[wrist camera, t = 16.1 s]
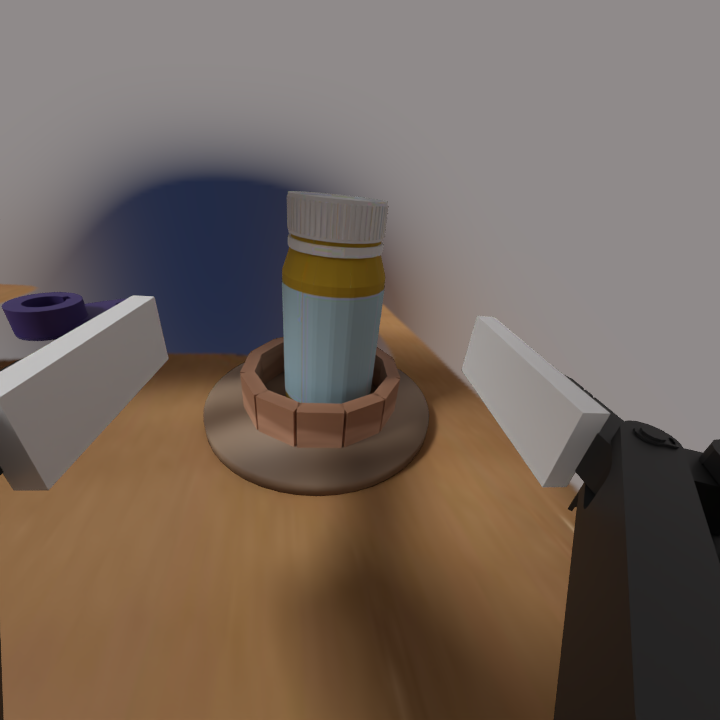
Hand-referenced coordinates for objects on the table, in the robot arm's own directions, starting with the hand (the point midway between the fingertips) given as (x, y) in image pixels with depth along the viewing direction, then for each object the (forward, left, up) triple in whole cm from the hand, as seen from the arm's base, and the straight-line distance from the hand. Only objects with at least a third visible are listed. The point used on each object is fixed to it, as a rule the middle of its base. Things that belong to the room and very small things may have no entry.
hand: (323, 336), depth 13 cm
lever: (-36, -12, -12) cm, 39 cm away
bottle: (-8, +5, -10) cm, 14 cm away
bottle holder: (-8, +5, -11) cm, 15 cm away
